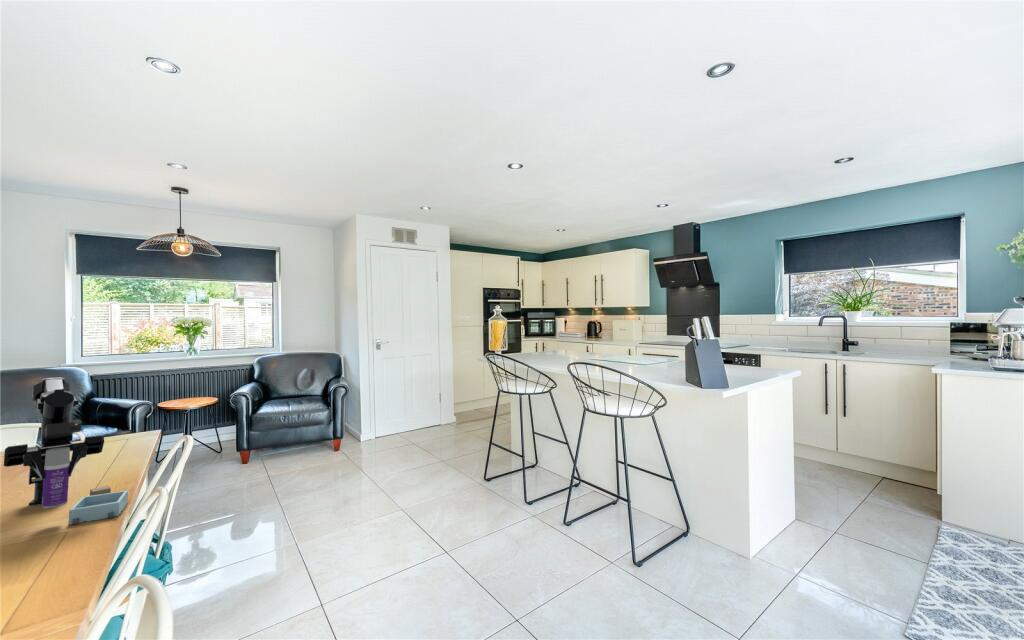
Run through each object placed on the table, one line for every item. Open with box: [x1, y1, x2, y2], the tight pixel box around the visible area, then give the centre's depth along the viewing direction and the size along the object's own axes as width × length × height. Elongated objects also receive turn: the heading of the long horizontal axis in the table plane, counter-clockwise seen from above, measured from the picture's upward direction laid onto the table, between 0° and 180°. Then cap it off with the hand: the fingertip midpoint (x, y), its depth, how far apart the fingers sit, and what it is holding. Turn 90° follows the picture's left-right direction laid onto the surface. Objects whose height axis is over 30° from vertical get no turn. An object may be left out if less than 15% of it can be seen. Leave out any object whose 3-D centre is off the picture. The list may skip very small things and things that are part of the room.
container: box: [41, 447, 71, 509], centre depth 113 cm, size 5×5×15 cm
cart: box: [68, 490, 129, 526], centre depth 120 cm, size 15×10×4 cm
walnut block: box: [89, 485, 112, 496], centre depth 129 cm, size 4×4×4 cm
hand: (56, 475), depth 112 cm, fingers closed on container, 5 cm apart
